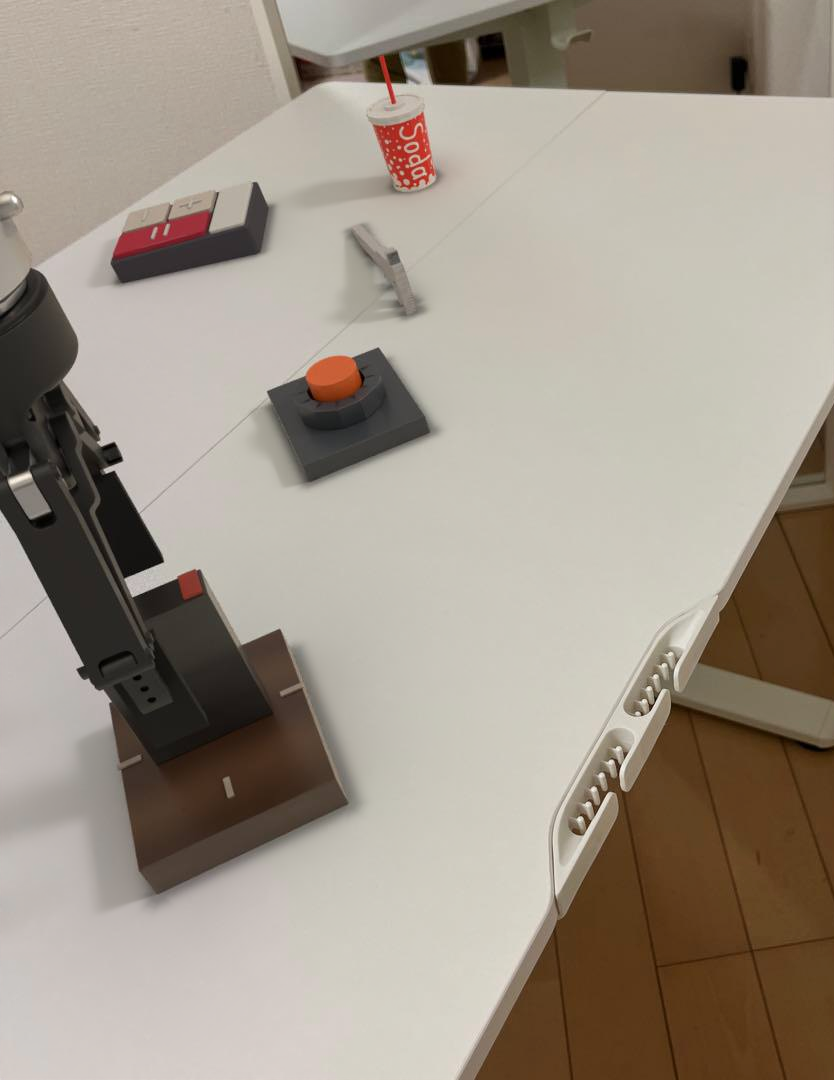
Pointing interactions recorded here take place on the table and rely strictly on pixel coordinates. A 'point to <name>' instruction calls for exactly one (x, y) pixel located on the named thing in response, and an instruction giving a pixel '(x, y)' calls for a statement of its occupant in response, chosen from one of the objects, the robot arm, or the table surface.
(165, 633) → the red-tabbed grey box
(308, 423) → the button block
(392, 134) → the beverage cup
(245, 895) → the table surface
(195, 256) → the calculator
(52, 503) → the robot arm
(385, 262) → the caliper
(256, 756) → the panel
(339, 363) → the button
